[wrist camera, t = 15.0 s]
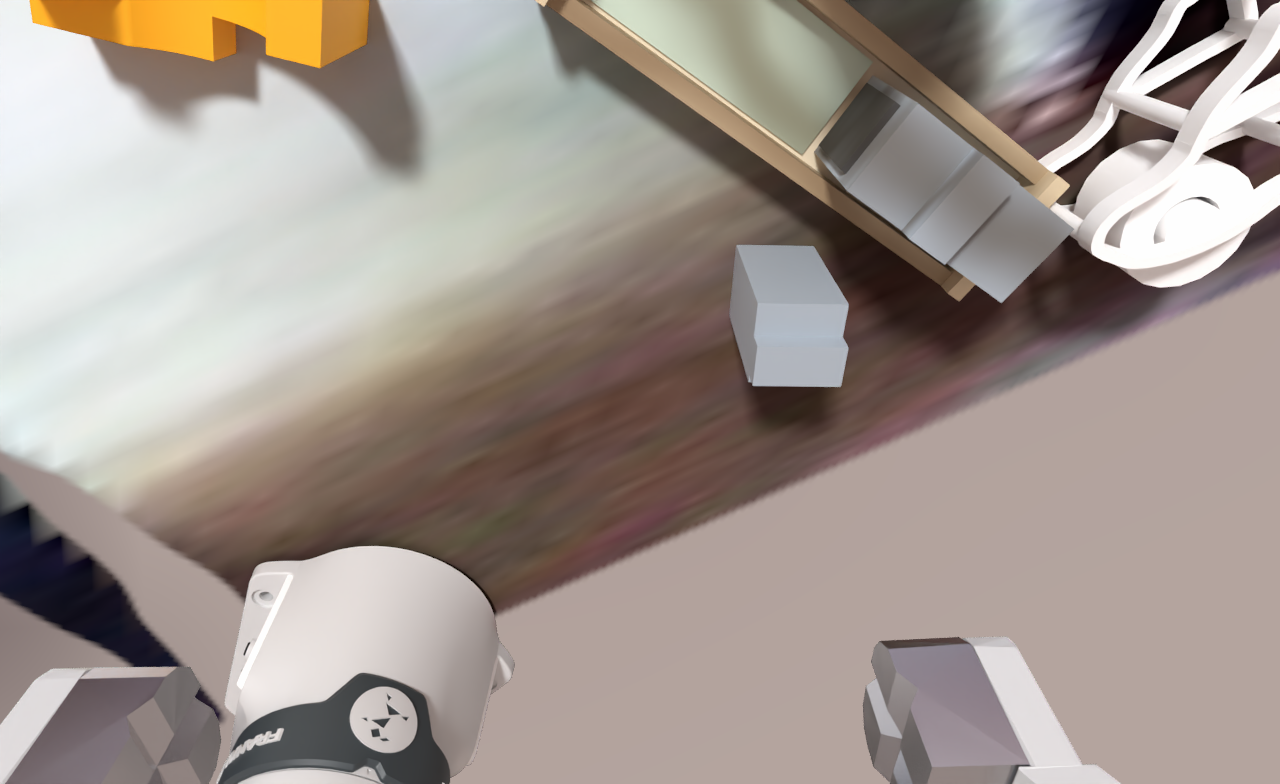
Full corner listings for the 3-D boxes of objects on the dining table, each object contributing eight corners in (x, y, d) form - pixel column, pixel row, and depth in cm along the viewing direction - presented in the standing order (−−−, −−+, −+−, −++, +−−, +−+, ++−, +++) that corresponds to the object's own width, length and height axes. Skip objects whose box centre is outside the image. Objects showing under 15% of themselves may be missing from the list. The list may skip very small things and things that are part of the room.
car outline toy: (1045, 277, 41) (1122, 342, 35) (975, 93, 36) (1050, 131, 30) (1469, 58, 36) (1650, 88, 29) (1456, -193, 31) (1672, -222, 24)
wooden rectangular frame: (931, 273, 40) (997, 348, 33) (533, -11, 33) (511, 8, 26) (1034, 162, 37) (1130, 218, 30) (622, -180, 30) (624, -209, 23)
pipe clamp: (81, 13, 33) (-25, 33, 28) (67, -102, 31) (-51, -106, 25) (365, 84, 35) (318, 116, 29) (371, -21, 33) (322, -8, 27)
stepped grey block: (728, 320, 42) (751, 399, 35) (736, 244, 39) (761, 313, 32) (802, 321, 42) (838, 399, 35) (813, 246, 39) (854, 314, 33)
